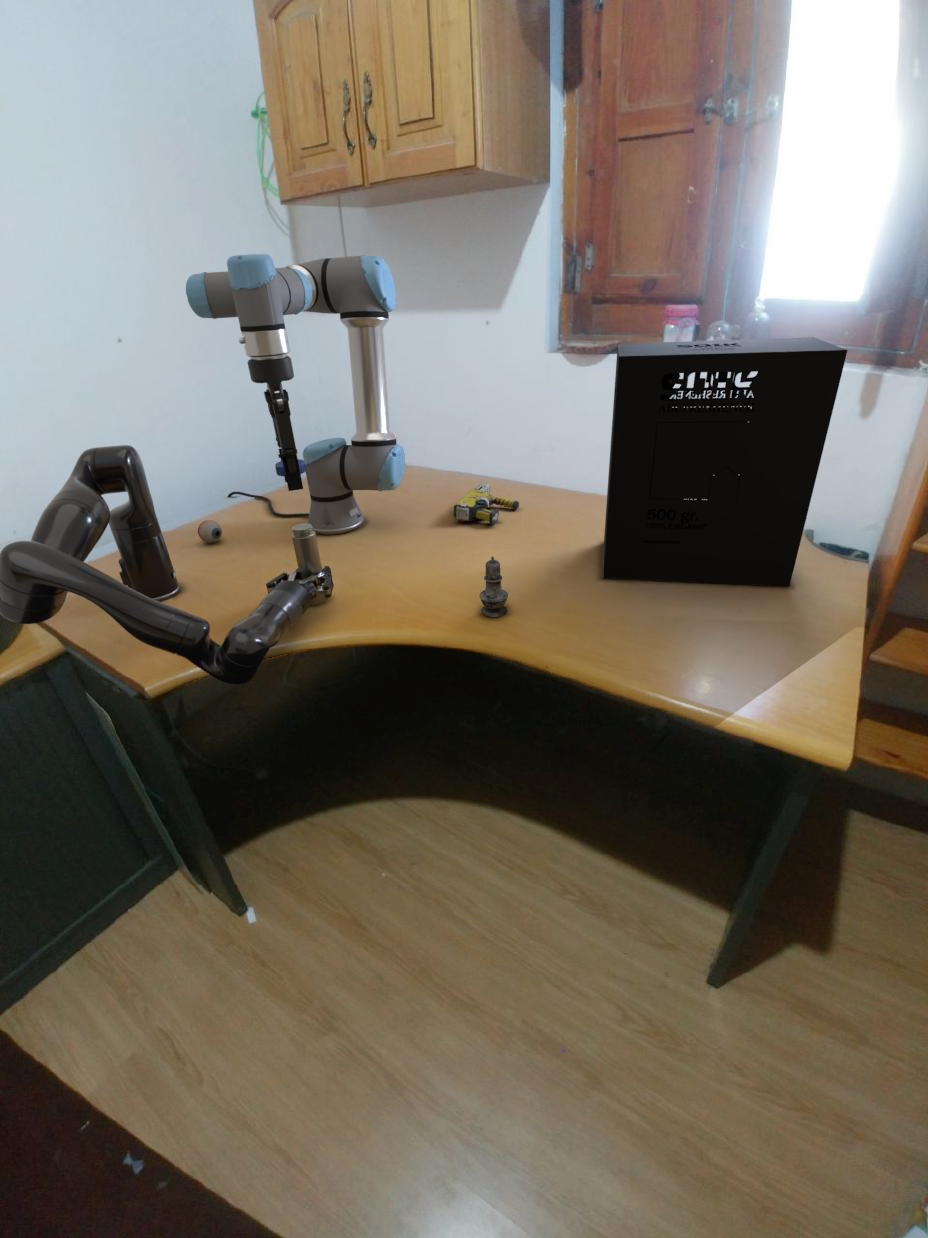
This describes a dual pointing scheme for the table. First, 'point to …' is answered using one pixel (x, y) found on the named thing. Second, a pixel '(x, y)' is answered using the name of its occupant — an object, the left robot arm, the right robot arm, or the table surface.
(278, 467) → the lid
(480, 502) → the toy gun
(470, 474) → the table surface
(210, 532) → the eyeball
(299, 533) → the jar
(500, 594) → the dark grey tiered cylinder
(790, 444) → the cardboard box
